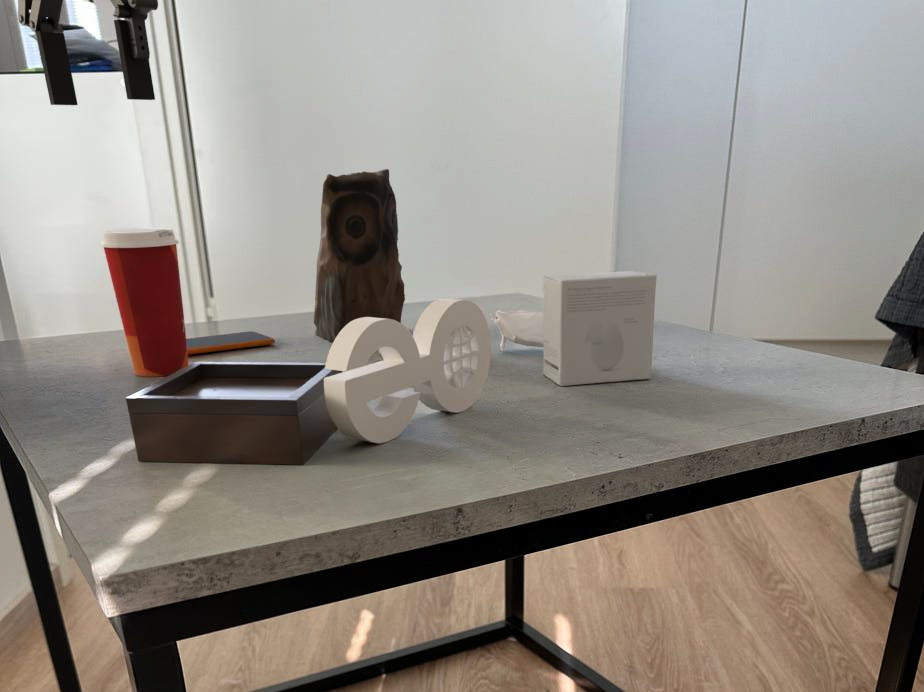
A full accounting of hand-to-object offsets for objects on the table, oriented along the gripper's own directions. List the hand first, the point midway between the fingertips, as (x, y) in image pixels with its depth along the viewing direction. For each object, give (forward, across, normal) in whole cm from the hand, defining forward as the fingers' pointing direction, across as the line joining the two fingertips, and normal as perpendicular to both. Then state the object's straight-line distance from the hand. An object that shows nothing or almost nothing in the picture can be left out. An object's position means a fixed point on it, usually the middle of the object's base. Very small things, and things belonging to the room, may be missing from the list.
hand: (101, 102), depth 95 cm
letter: (+27, -42, +1) cm, 50 cm away
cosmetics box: (+27, -46, -24) cm, 59 cm away
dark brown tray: (+27, -33, +13) cm, 45 cm away
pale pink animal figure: (+27, -33, -33) cm, 54 cm away
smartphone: (+27, +4, -11) cm, 30 cm away
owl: (+27, -7, -28) cm, 40 cm away
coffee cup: (+27, -2, 0) cm, 27 cm away
